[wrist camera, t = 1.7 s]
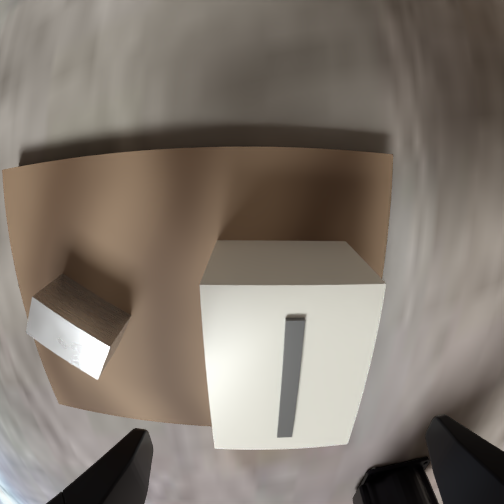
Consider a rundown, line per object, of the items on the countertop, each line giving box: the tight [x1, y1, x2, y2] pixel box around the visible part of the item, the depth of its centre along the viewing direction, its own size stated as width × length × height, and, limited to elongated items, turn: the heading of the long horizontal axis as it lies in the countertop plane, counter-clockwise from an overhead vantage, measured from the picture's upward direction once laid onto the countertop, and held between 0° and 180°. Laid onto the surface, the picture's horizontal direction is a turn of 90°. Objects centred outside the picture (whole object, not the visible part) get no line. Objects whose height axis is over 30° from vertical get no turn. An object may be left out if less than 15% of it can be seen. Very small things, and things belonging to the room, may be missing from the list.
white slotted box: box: [200, 240, 386, 450], centre depth 13 cm, size 6×8×5 cm
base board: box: [2, 147, 393, 426], centre depth 16 cm, size 20×16×2 cm
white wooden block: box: [26, 274, 131, 380], centre depth 14 cm, size 2×4×3 cm, turn 60°
